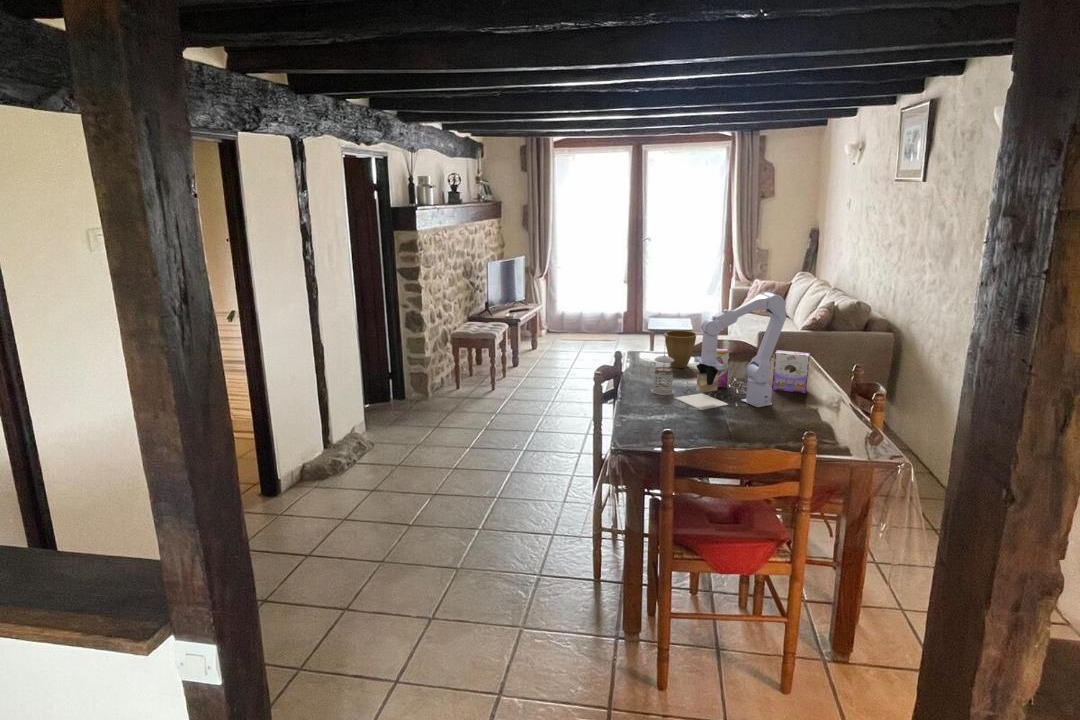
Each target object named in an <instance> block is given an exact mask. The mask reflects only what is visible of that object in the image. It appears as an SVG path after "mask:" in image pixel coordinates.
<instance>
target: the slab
mask: <svg viewBox="0 0 1080 720" xmlns="http://www.w3.org/2000/svg"><path fill="white" fill-rule="evenodd" d="M718 374H719V373H717V374H716V376H715V378H714V381H713V384H712V385H707V373H699V372H698V373H697V374H696V375H697V376H696V390H695V391H696V392H698V393H700V394H701V393H702V394H704V393H707V392H715V391H718V388H717V386H718Z"/></svg>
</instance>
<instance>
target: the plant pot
mask: <svg viewBox="0 0 1080 720" xmlns="http://www.w3.org/2000/svg"><path fill="white" fill-rule="evenodd" d="M664 333H667V334H668V336H666V342H665V349H666V351H667V356H668V357H671V358H672V359H674V362H672V363H670V365H671V367H672V368H677V369H678V368H679V369H681V368H683V369H684V368H687V367H688V365H689V362H690V360H691V357H692V355H693V351H694V348H695V344H696V340H697V333H696V332H695V331H694V332H693V331H690V330H689V331H688V330H668V331H666V332H664Z"/></svg>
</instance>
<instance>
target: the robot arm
mask: <svg viewBox="0 0 1080 720" xmlns="http://www.w3.org/2000/svg"><path fill="white" fill-rule="evenodd" d="M786 305H787V303H786V301H785V299H784V298H783V297H782V295H778V294H776V293H774V292H773V293H772V292H771V291H764V292H762V293H761V294H760V293H759V294H757V295H756V296H754V298H751V299H750V300H748V301H747V302H745V303H743V304H742V305H740V306H739V307H736V308H735V309H727V308H725V309H723V310H722V312H721V313H719V314H717V315H713V316H712V317H711V318H706V319H705V320H704V321H703V322H702V323H701V325H700V328H701V331H702V339H701V342H702V343H701V356H694V358H693V359H694V363H698V364H696V368H697V370H698V373H707V385H712V384H713V381H714V378H715V376H716V374H717V373H718V371H719V370H723V365H722V364H720V363H719V362H717V361H716V355H717V349H718V341H719V339H718V337H719V334H720V333H721V331H722V330H724V329H726V328H729V327H730V326H732V325H734V324H735V323H737V321H738V318H740V317H743V316H744V315H747V314H749V313H751V312H753V311H755V310H762V311H763V310H764V311H766V312H767V314H768V316H769V318H770V319H769V321H768V324H767V326H766V329H765V332H764V335H763V337H762V340H761V343H760V345H759V348H758V351H757V353H756V355H755V356H753V357H752V358H751V361H750V362H749V363H748V364H747V366H746V367H745V373H746V375H747V376H748V377H747V382H746V394H745V398H743V399H740V402H742V403H745V402H746V403H745V404H747V405H750V406H753V407H756V408H762V407H768V406H772V405H773V403H772V398H773V397H772V395H773V390H772V386H771V385H769V384H768V380H769V379H770V377H771V368H772V365H771V358H772V357H773V353H774V351H775V348H776V345H777V343H778V340H779V338H780V336H781V335H780V334H781V333H782V330H783V327H784V325H785V321H786V320H787V312H786Z"/></svg>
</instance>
